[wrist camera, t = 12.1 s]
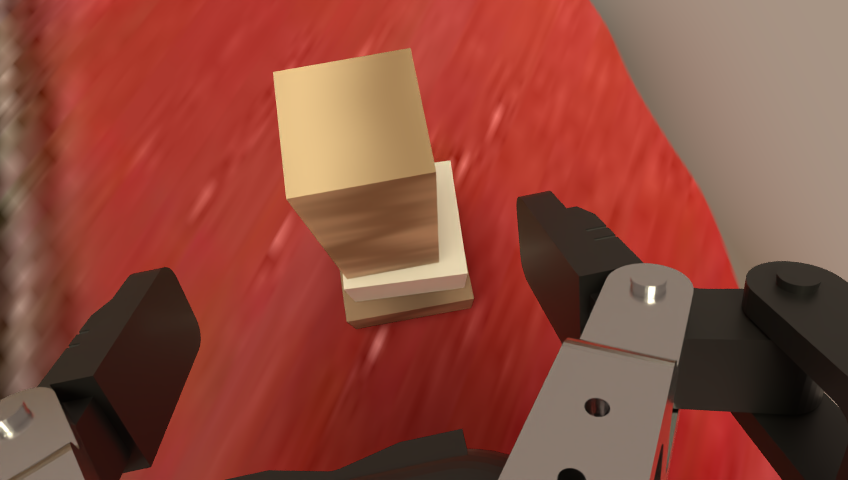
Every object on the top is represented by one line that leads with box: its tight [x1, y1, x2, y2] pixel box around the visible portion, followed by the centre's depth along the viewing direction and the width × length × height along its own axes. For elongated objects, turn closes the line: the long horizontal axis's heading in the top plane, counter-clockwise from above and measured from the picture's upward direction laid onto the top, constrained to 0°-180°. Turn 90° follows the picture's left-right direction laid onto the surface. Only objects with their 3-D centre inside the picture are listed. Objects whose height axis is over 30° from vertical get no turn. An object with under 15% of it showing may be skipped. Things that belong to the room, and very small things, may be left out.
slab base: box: [340, 258, 474, 329], centre depth 30 cm, size 7×7×4 cm
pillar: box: [273, 48, 439, 279], centre depth 21 cm, size 4×4×10 cm
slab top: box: [343, 161, 468, 302], centre depth 27 cm, size 6×6×4 cm
